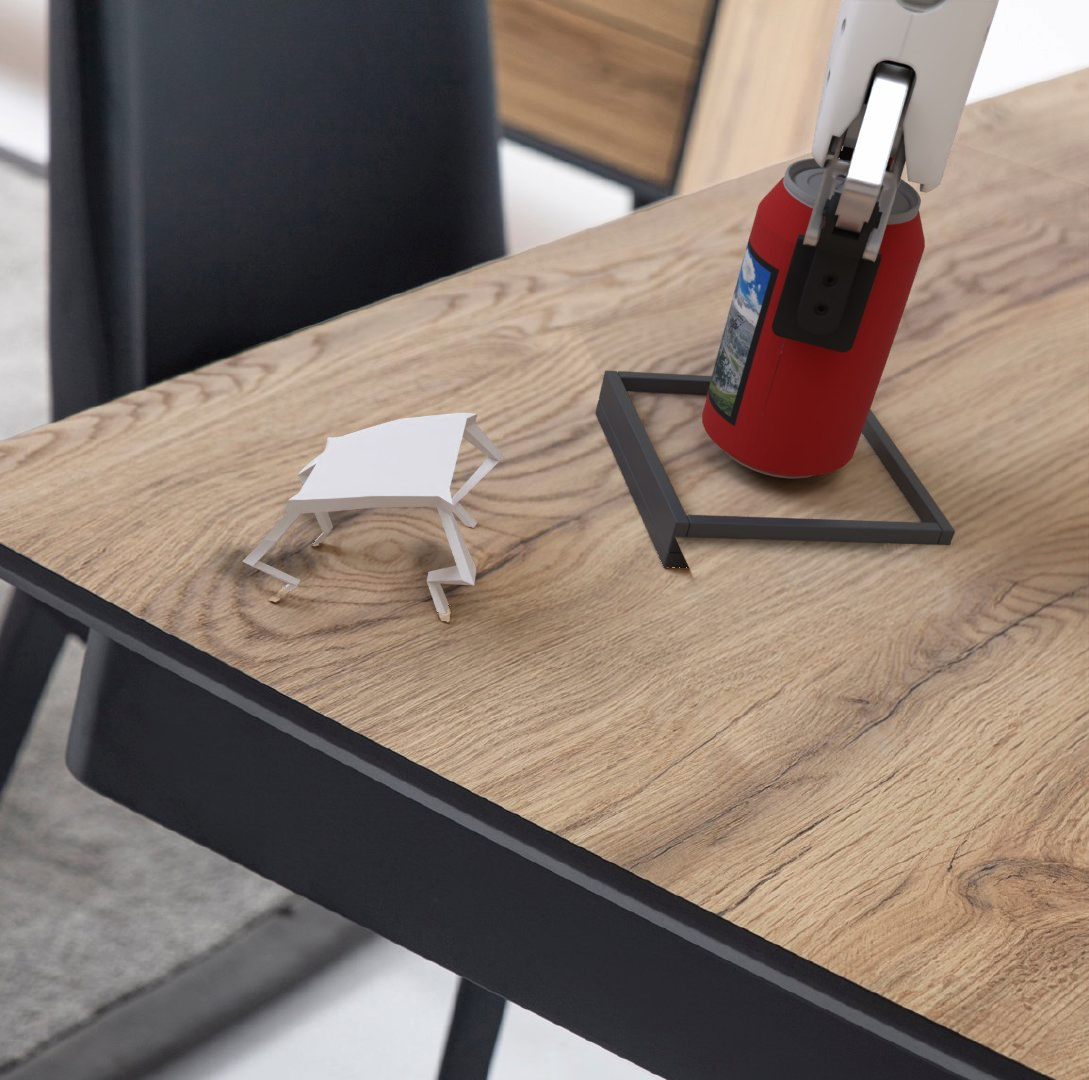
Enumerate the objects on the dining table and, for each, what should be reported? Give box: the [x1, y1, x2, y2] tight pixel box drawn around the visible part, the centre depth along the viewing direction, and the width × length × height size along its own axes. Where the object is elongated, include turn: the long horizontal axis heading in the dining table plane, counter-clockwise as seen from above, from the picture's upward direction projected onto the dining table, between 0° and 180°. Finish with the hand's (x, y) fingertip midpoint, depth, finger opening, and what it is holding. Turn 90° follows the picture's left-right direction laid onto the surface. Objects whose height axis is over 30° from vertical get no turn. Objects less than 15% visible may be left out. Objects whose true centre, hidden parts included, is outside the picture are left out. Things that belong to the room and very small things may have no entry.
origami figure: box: [241, 411, 505, 615], centre depth 62 cm, size 12×8×5 cm
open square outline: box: [594, 370, 956, 569], centre depth 71 cm, size 12×12×2 cm
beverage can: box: [701, 157, 926, 479], centre depth 67 cm, size 7×7×12 cm
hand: (820, 299), depth 67 cm, fingers closed on beverage can, 6 cm apart
